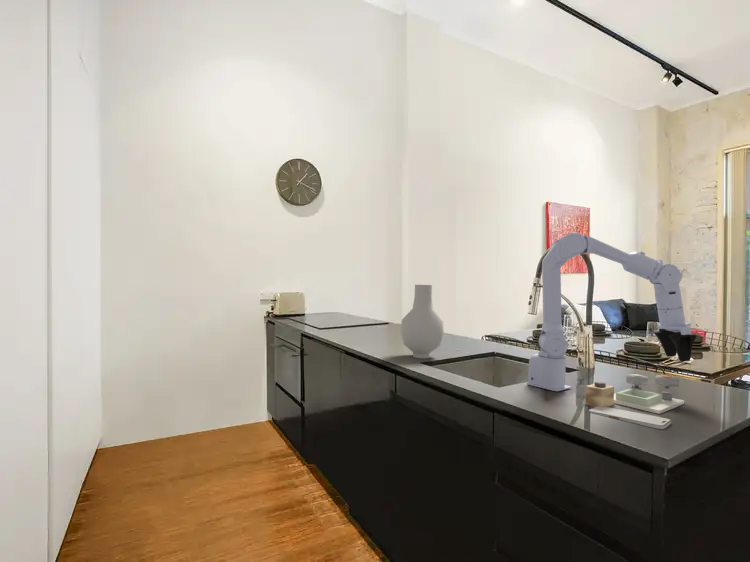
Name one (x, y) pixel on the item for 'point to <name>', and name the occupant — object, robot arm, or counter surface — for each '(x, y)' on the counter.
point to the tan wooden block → (599, 395)
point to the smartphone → (632, 417)
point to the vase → (422, 324)
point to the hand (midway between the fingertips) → (678, 358)
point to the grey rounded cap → (667, 381)
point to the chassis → (645, 397)
